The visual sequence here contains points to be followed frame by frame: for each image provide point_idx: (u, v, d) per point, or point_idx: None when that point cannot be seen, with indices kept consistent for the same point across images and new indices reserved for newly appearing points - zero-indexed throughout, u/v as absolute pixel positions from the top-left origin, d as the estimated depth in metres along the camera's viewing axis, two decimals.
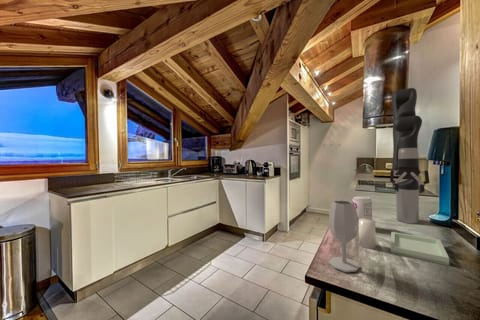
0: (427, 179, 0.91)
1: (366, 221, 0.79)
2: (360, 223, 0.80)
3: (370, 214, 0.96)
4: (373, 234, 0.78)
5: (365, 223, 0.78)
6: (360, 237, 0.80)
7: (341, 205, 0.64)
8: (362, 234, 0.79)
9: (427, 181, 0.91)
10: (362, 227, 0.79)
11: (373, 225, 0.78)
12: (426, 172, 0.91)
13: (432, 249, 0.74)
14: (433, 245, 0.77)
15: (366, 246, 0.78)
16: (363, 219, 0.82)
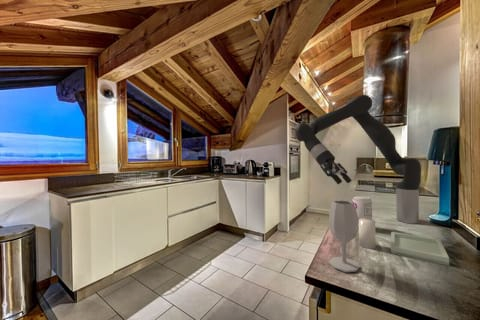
0: None
1: (366, 221, 0.79)
2: (360, 223, 0.80)
3: (370, 214, 0.96)
4: (373, 234, 0.78)
5: (365, 223, 0.78)
6: (360, 237, 0.80)
7: (341, 205, 0.64)
8: (362, 234, 0.79)
9: None
10: (362, 227, 0.79)
11: (373, 225, 0.78)
12: None
13: (432, 249, 0.74)
14: (433, 245, 0.77)
15: (366, 246, 0.78)
16: (363, 219, 0.82)
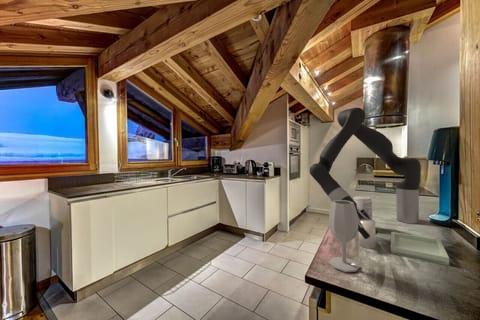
0: None
1: (366, 221, 0.79)
2: None
3: (370, 214, 0.96)
4: (373, 234, 0.77)
5: (365, 223, 0.78)
6: (360, 237, 0.80)
7: (341, 205, 0.64)
8: None
9: None
10: (362, 227, 0.79)
11: (373, 225, 0.78)
12: None
13: (432, 249, 0.74)
14: (433, 245, 0.77)
15: (366, 246, 0.78)
16: (363, 219, 0.82)
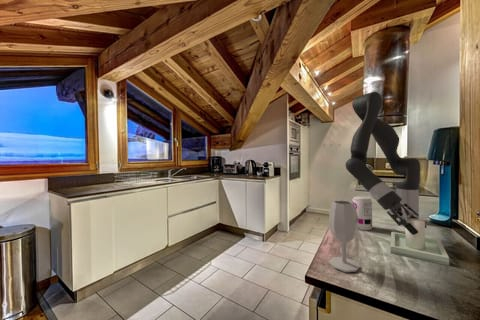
0: None
1: (414, 221, 0.75)
2: None
3: (370, 214, 0.96)
4: (423, 234, 0.73)
5: (414, 223, 0.74)
6: (408, 238, 0.76)
7: (341, 205, 0.64)
8: (410, 234, 0.75)
9: None
10: None
11: (423, 225, 0.73)
12: None
13: (432, 249, 0.74)
14: (433, 245, 0.77)
15: (416, 247, 0.74)
16: (410, 219, 0.77)
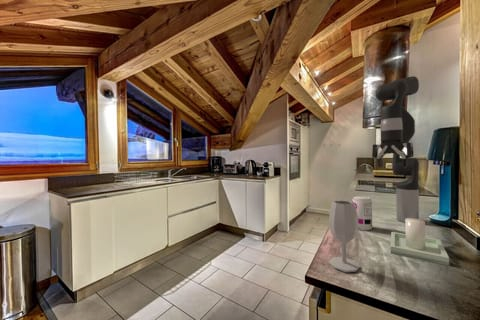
0: (409, 152, 0.81)
1: (415, 221, 0.75)
2: (408, 223, 0.75)
3: (370, 214, 0.96)
4: (423, 235, 0.73)
5: (415, 223, 0.74)
6: (408, 238, 0.76)
7: (341, 205, 0.64)
8: (411, 234, 0.75)
9: (409, 154, 0.81)
10: (411, 227, 0.74)
11: (423, 225, 0.73)
12: (408, 144, 0.81)
13: (432, 249, 0.74)
14: (433, 245, 0.77)
15: (416, 247, 0.74)
16: (410, 219, 0.77)
